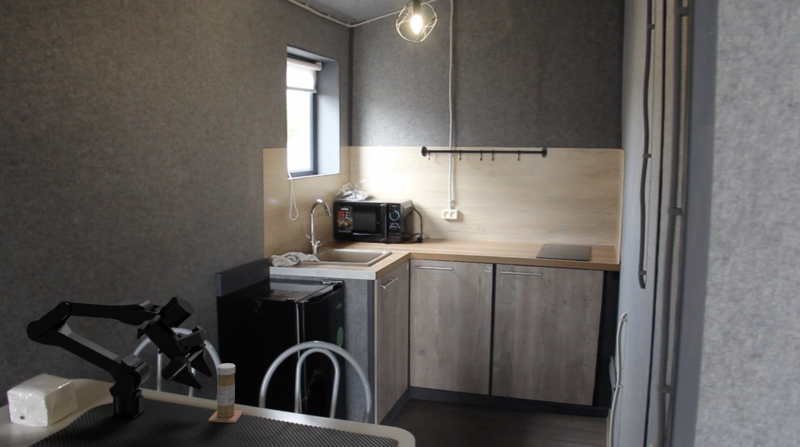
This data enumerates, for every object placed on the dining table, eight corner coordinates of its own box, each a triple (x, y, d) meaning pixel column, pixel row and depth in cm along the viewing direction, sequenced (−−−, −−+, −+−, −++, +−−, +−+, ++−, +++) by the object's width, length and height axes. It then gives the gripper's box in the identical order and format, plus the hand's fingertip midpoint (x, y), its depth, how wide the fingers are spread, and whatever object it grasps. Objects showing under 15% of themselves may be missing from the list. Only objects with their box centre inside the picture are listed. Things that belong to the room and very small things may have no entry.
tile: (208, 421, 154) (208, 419, 154) (217, 411, 161) (217, 409, 161) (235, 422, 154) (235, 421, 154) (243, 412, 161) (243, 410, 161)
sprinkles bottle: (228, 410, 161) (229, 361, 160) (237, 415, 158) (238, 365, 157) (213, 414, 157) (213, 365, 156) (222, 419, 154) (223, 369, 153)
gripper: (175, 327, 146) (218, 373, 147) (199, 311, 165) (238, 351, 166) (142, 357, 147) (186, 403, 148) (170, 337, 165) (209, 378, 166)
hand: (206, 382), depth 157 cm, fingers open, 9 cm apart
